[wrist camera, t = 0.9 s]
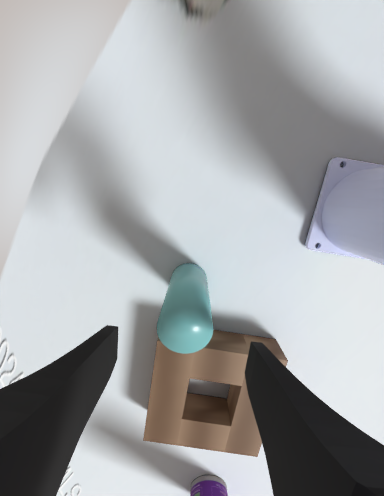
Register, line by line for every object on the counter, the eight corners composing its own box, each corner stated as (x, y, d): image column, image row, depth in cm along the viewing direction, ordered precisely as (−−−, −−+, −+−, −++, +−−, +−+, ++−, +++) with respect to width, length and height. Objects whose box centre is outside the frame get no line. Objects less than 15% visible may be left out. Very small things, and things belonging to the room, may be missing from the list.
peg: (209, 266, 21) (217, 308, 13) (203, 299, 21) (207, 357, 14) (173, 260, 21) (160, 299, 13) (169, 293, 21) (153, 349, 14)
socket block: (275, 339, 22) (287, 360, 19) (250, 426, 25) (257, 456, 22) (162, 321, 22) (157, 340, 19) (149, 411, 25) (143, 440, 22)
